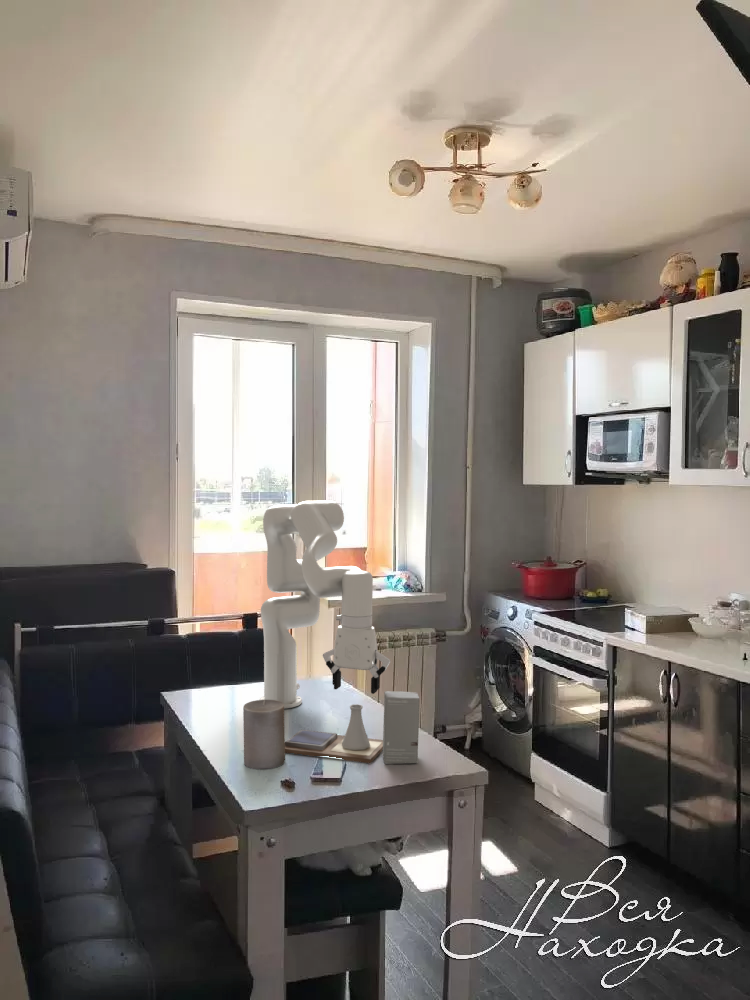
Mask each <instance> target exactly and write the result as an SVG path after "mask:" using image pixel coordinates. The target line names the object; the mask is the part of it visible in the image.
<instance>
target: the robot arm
mask: <svg viewBox="0 0 750 1000" xmlns="http://www.w3.org/2000/svg"><path fill="white" fill-rule="evenodd" d="M344 515H345V514H344V511H343V509H342V506H340V504H339V503H337V502H336V501H334V500H305V501H301V502H298V504H297V503H296V504H294V503H293V504H290V503H289V504H286V503H285V504H277V505H272V506H270V507H268V508H267V509H266V510H265V512H264V514H263V518H262V527H263V533H264V537H265V540H266V545H267V547H266V548H267V552H266V553H267V555H266V582H267V584H266V585H267V587H268V589H269V591H270V592H272V593H279V594H285V593H287V594H288V593H297V592H300V595H299V594H298V595H287V596H286V595H285V596H276V597H271V598H268V599H266V600H265V601H264V602H263V603H262V604H261V607H260V617H261V625H262V629H263V630H262V632H263V652H264V653H263V656H264V657H263V663H264V664H263V667H264V668H263V680H264V682H263V685H264V687H263V688H264V689H263V694H264V695H263V696H262V697H259V699H258V700H276V701H280V702H282V703H283V704H284V710H285V709H291V708H296V707H298V706H300V705H301V704H302V703H303V699H302V697H301V696H299V695H297V693H298V692H297V690H299V689H300V686H301V685H300V684H299V683H298V682H297V680H298V679H297V674H298V673H297V664H298V663H297V660H298V659H297V656H298V655H297V654H298V653H297V651H298V650H297V642H296V640H295V637H294V636H292V634H291V633H290V631H289V630H291V629H299V628H307V627H311V626H314V625H316V624H317V622H318V621H319V617H320V607H321V605H320V604H321V599H320V598H322V599H323V598H325V599H326V598H335V597H338V598H339V597H341V613H340V614H339V615H338V614H337V615H336V618H335V619H336V621H339V622H340V625H338V626H337V630H336V635H335V643H334V648H333V649H332V648H331V650H328V651H326V652H323V653H322V658H323V660H324V662H325V665H326V666H327V668H328V669H329V670H330V672H331V673H332V686H333V690H338V689H339V688H340V687H341V686H342V671H341V670H340V669H351V670H358V671H369V672H370V674H371V675H372V677H371V678H370V693H371V695H374V694H375V693H377V692H378V690H380V676H381V675H383V673H384V672H386V670H387V668H388V667H389V665H390V663H391V659H390V658H388V657H387V656H385V655H384V654H383V653H381V652H379V651H378V643H377V642H378V641H377V636H376V635H377V633H376V630H375V629H376V628H375V626H373V594H374V593H373V592H374V591H373V585H374V583H373V582H374V581H373V580H374V579H373V575H372V573H371V572H369V571H368V570H367V571H366V570H362V569H361V568H360V567H359V566H355V565H346V566H344V565H343V566H341V565H340V566H326V567H321V566H320V565H319V564H318V561H319V560H321V559H323V558H325V557H327V556H328V555H329V554H331V553H332V552H333V551H334V550H335V549H336V547H337V544H338V536H337V535H336V531H338V530H340V529H341V528H342V527H343V525H344V520H345V516H344ZM292 535H299V537H300V539H301V541H302V542H303V544H304V546H305V550H304V552H303V555H302V556H301V557H302V558H300V559H297V552H298V551H297V548H298V547H297V543H296V541H295V539H294V538H293V536H292ZM332 656H333V660H332V658H331V657H332ZM378 661H379V662H382V664H381V667H380V668H379V666H378V665H377V664H378Z"/></svg>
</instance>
